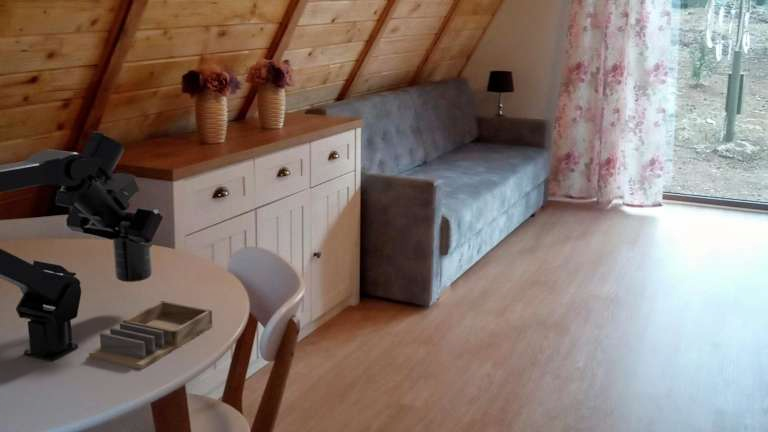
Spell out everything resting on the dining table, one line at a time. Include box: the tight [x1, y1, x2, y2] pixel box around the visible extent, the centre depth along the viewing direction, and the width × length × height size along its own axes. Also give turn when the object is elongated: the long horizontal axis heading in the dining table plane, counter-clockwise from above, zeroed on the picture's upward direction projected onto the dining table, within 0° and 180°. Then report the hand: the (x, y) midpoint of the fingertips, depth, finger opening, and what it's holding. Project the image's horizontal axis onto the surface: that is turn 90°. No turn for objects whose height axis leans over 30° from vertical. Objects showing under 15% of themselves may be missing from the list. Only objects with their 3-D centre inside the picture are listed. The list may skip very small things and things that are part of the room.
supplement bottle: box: [112, 225, 153, 283], centre depth 160 cm, size 7×7×12 cm
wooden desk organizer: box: [88, 300, 213, 370], centre depth 148 cm, size 20×11×4 cm, turn 157°
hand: (136, 242), depth 161 cm, fingers closed on supplement bottle, 7 cm apart
